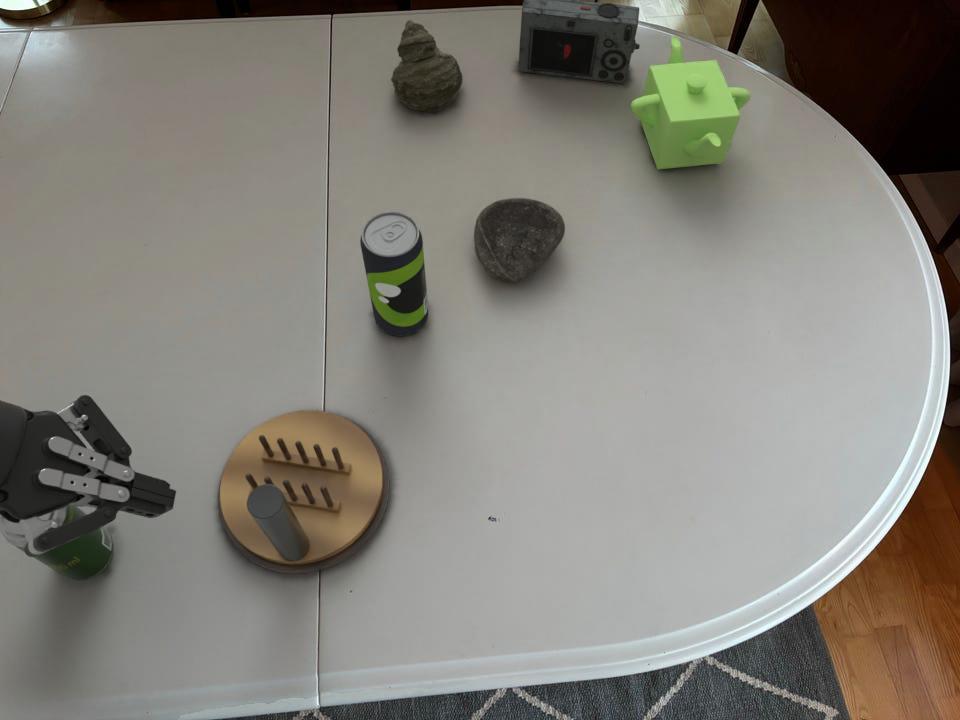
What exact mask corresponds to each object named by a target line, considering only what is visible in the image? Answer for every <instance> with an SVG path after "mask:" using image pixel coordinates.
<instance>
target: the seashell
mask: <svg viewBox="0 0 960 720" xmlns="http://www.w3.org/2000/svg"><path fill="white" fill-rule="evenodd" d="M396 49H397V53H398V57H399V58H400V61H399V63H398V65H396V67H395V68H394V69H393V71H392V76H391V77H390V81H391V83H392V86H393V88H394V93H395V94H396V95H397V97H398V99H399V100H400V101H401V102H402V104H404V105H405V106H406V107H407V108H410V109H412V110H414V111H421V112H424V113H426V112H430V113H431V112H437V111H439V110H442V109H443V108H446V107H448V106H449V105H450V104H452V103H453V102H454V101H455V99H456V96H457V95H458V92H459V90H460V89H461V88H462V85H463V74H462V71H461V67H460V65H459V63H458V60H457V59H456V58H455V57H454V56H453V54H450V53H446V52H443V51H442V50H441V49H440V48H439V47H438V46H437V41H436V40H435V37H434V36H433V35H432V34H431V33H429V31H428V30H427V29H426V28H425V26H424V25H423V24H421V23H419V22H415V21H413V20H411V19H408V20H407V21H406V22H405V24H404V29H403V31H402V32H401V36H400V42H399V44H398V46H397V48H396ZM454 114H455V112H454Z"/></svg>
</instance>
